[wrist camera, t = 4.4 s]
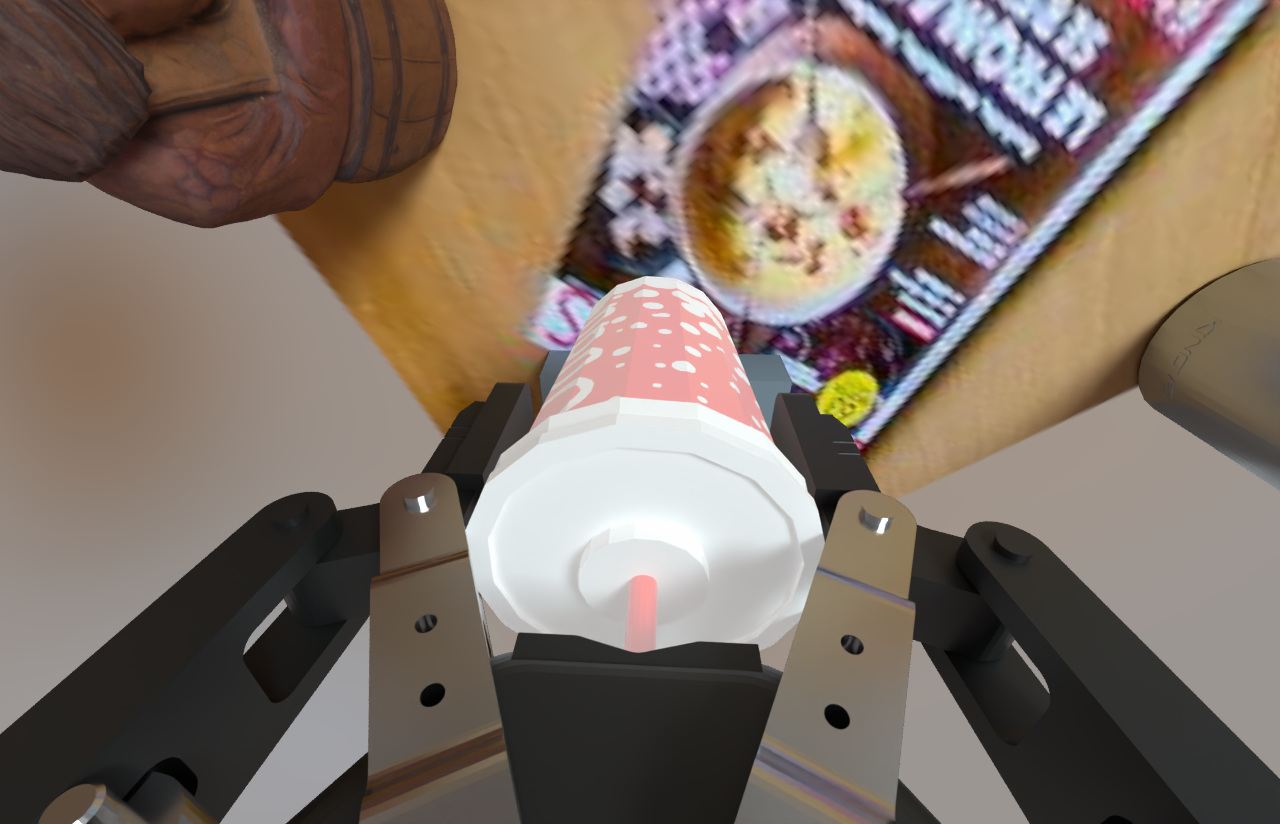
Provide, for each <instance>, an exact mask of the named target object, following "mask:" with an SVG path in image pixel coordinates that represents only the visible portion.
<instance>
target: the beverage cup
mask: <svg viewBox="0 0 1280 824" xmlns="http://www.w3.org/2000/svg"><path fill="white" fill-rule="evenodd" d="M466 535H467V539H468V544H469V550H470V555H471V560H472V565H473V570H474V575H475V579H476V584H477V588H478V591H479V593H480V594H481V595H482V597H483V598H484V599H485V601H486V602H487V603H488V605H489V606H490V607H491V608H492V610H493V611H494V613H495V614H496V615H497V617H498V618H499V619H500V620H501V622H502V623H503V624H504V625H506V626H507V627H509V628H510V629H512V630H513V631H515V632H517V633H518V632H523V633H543V634H563V635H578V636H581V637H584V638H588V639H591V640H594V641H598V642H601V643H604V644H607V645H611V646H614V647H617V648H621V649H624V650H627V651H631V652H637V653H640V652H646V651H651V650H657V649H662V648H667V647H672V646H677V645H682V644H687V643H692V642H697V641H705V642H725V643H745V644H758V646H759V651H761V650H763V649H765V648H768V647H770V646H772V645H773V644H775V643H776V642H777V641H778V640H779V639H780V638H781V637H783V636H784V635H785V633H787V632H788V631H789V630H790V629H791V628H792V627H793V626H795V625H796V623H798V622H799V621H800V618H801V615H802V612H803V609H804V606H805V603H806V599H807V596H808V593H809V590H810V587H811V584H812V581H813V577H814V574H815V571H816V568H817V565H818V564H819V561H820V558H821V554H822V551H823V548H824V545H825V541H824V536H823V531H822V526H821V522H820V517H819V512H818V509H817V506H816V503H815V501H814V499H813V497H812V496H811V495H810V494H809V493H808V491H807V486H806V482H805V478H804V477H803V476H802V475H801V474H800V473H799V472H798V470H797V469H796V468H795V467H794V466H793V465H792V464H791V463H790V462H789V460H788V459H787V458H786V457H785V456H784V455H783V454H782V453H781V452H780V450H779V449H778V448H777V447H776V446H775V444H774V442H773V439H772V437H771V434H770V432H769V429H768V427H767V425H766V422H765V420H764V417H763V415H762V412H761V410H760V407H759V405H758V403H757V400H756V398H755V395H754V393H753V390H752V388H751V386H750V383H749V381H748V378H747V376H746V373H745V371H744V368H743V366H742V364H741V361H740V359H739V356H738V354H737V351H736V349H735V346H734V344H733V342H732V339H731V337H730V334H729V332H728V329H727V327H726V325H725V322H724V320H723V317H722V315H721V313H720V312H719V311H718V310H717V308H716V307H715V306H714V305H713V303H712V302H711V301H710V300H709V299H708V297H707V296H706V295H705V294H704V293H703V292H702V291H700V290H698V289H696V288H694V287H692V286H690V285H688V284H686V283H684V282H682V281H680V280H678V279H675V278H662V277H649V276H645V277H642V278H639V279H636V280H633V281H629V282H626V283H623V284H620V285H617V286H616V287H615V288H614V289H612V290H611V291H610V292H609V293H608V294H607V295H606V296H604V297H603V298H602V299H601V300H600V301H599V302H597V303H596V304H595V306H594V308H593V310H592V312H591V314H590V316H589V318H588V320H587V322H586V323H585V325H584V327H583V329H582V331H581V333H580V335H579V337H578V339H577V341H576V343H575V345H574V347H573V348H572V350H571V352H570V354H569V356H568V358H567V360H566V362H565V364H564V366H563V368H562V370H561V372H560V373H559V375H558V377H557V379H556V381H555V383H554V385H553V387H552V389H551V391H550V393H549V395H548V397H547V398H546V400H545V402H544V404H543V406H542V408H541V410H540V412H539V414H538V416H537V418H536V420H535V422H534V423H533V425H532V427H531V429H530V431H529V433H528V434H526V435H525V436H524V437H523V438H521V439H520V440H519V441H517V442H516V443H515V444H514V445H512V446H511V447H510V448H509V449H507V450H506V451H505V452H503V453H502V454H501V455H500V458H499V460H498V462H497V465H496V467H495V469H494V471H493V472H491V473H490V475H489V477H488V479H487V482H486V484H485V486H484V488H483V491H482V493H481V495H480V498H479V500H478V502H477V505H476V507H475V509H474V512H473V514H472V516H471V519H470V521H469V523H468V526H467V528H466Z"/></svg>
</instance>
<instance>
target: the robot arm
mask: <svg viewBox="0 0 1280 824" xmlns="http://www.w3.org/2000/svg"><path fill="white" fill-rule="evenodd" d="M1138 376H1139V388H1140V390H1141V393H1142V395H1143V397H1144V400H1145V401H1146V402H1147V403H1148V404H1150V406H1152V407H1153V408H1154V409H1155V410H1157V411H1158V412H1160V413H1161V414H1163V415H1164V416H1166V417H1167V418H1169V419H1171V420H1172V421H1174V422H1175V423H1177V424H1178V425H1180V426H1181V427H1183V428H1185V429H1186V430H1188V431H1189V432H1191V433H1192V434H1194V435H1195V436H1197V437H1198V438H1200V439H1201V440H1203V441H1204V442H1206V443H1208V444H1209V445H1211V446H1212V447H1214V448H1215V449H1216V450H1218V451H1219V452H1221V453H1222V454H1224V455H1225V456H1227V457H1229V458H1230V459H1232V460H1233V461H1235V462H1236V463H1238V464H1240V465H1241V466H1242V467H1244V468H1245V469H1247V470H1249V471H1250V472H1252V473H1253V474H1255V475H1256V476H1258V477H1259V478H1261V479H1263V480H1264V481H1266V482H1267V483H1269V484H1270V485H1272V486H1273V487H1275V488H1276V489H1278V490H1279V491H1280V258H1275V259H1269V260H1265V261H1262V262H1259V263H1256V264H1253V265H1250V266H1247V267H1243V268H1241V269H1239V270H1237V271H1235V272H1233V273H1231V274H1229V275H1226V276H1224V277H1222V278H1220V279H1218V280H1217V281H1215V282H1214V283H1212V284H1210V285H1209V286H1207V287H1206V288H1204V289H1202V290H1201V291H1199V292H1198V293H1196V294H1195V295H1194V296H1193V297H1191V298H1190V299H1189V300H1188V301H1187V302H1185V303H1184V304H1183V305H1182V306H1180V307H1179V308H1178V309H1177V310H1176V311H1175V312H1174V313H1173V314H1172V315H1171V316H1170V317H1169V318H1168V319H1167V320H1166V321H1165V323H1164V324H1163V325H1162V326H1161V327H1160V329H1159V330H1158V331H1157V333H1156V334H1155V336H1154V337H1153V338H1152V340H1151V341H1150V343H1149V345H1148V347H1147V349H1146V351H1145V353H1144V355H1143V358H1142V360H1141V365H1140V369H1139V374H1138ZM533 423H534V413H533V405H532V396H531V389H530V386H529V384H527V383H502V382H498V383H496V385H495V386H494V388H493V390H492V392H491V393H490V395H489V397H488V399H487V400H486V402H480V401H475V402H474V403H472V404H471V405H469V406H468V407H467V408H465V409H464V410H462V411H461V412H460V413H459V414H458V416H457V417H456V419H455V420H454V422H453V424H452V425H451V428H449V430H448V432H447V433H446V435H445V438H444V439H442V441H441V443H440V444H439V446H438V448H437V449H436V451H435V452H434V454H433V455H432V457H431V459H430V460H429V462H428V463H427V465H426V466H425V468H424V469H423V471H422V473H421V474H416V475H412V476H409V477H406V478H404V479H402V480H400V481H398V482H396V483H395V484H393V485H392V486H391V487H390V488H388V489H387V491H386V492H385V493H384V495H383V496H382V498H381V500H380V503H377V504H373V505H367V506H362V507H356V508H350V509H345V510H339V511H337V509H336V507H335V504H334V502H333V500H332V499H331V498H330V497H329V496H328V495H326V494H323V493H319V492H303V493H297V494H293V495H289V496H286V497H283V498H281V499H279V500H276V501H274V502H273V503H271V504H269V505H267V506H266V507H264V508H263V509H261V510H260V511H259V512H258V513H257V514H255V515H254V516H253V517H252V518H251V519H250V520H248V521H247V522H246V523H245V524H244V525H243V526H242V527H240V528H239V529H238V530H237V531H236V532H234V533H233V534H232V535H231V536H230V537H229V538H228V539H226V540H225V541H224V542H223V543H222V544H220V545H219V546H218V547H217V548H216V549H215V550H214V551H213V552H211V553H210V554H209V555H208V556H207V557H205V559H203V560H202V561H201V562H200V563H199V564H197V565H196V566H195V567H194V568H193V569H192V570H190V571H189V572H188V573H187V574H186V575H185V576H183V577H182V578H181V579H180V580H179V581H178V582H177V583H175V584H174V585H173V586H172V587H171V588H169V589H168V590H167V591H166V592H165V593H164V594H162V595H161V596H160V597H159V598H158V599H157V600H156V601H154V602H153V603H152V604H151V605H150V606H149V607H148V608H146V609H145V610H144V611H143V612H142V613H140V614H139V615H138V616H137V617H136V618H135V619H134V620H132V621H131V622H130V623H129V624H128V625H127V626H125V627H124V628H123V629H122V630H121V631H120V632H118V633H117V634H116V635H115V636H114V637H113V638H111V639H110V640H109V641H108V642H107V643H106V644H104V645H103V646H102V647H101V648H100V649H99V650H98V651H96V652H95V653H94V654H93V655H92V656H91V657H89V658H88V659H87V660H86V661H85V662H84V663H82V664H81V665H80V666H79V667H78V668H77V669H76V670H74V671H73V672H72V673H71V674H70V675H69V676H67V677H66V678H65V679H64V680H63V681H62V682H60V683H59V684H58V685H57V686H56V687H55V688H53V689H52V690H51V691H50V692H49V693H48V694H47V695H45V696H44V697H43V698H42V699H41V700H40V701H38V702H37V703H36V704H35V705H34V706H33V707H31V708H30V709H29V710H28V711H27V712H26V713H24V714H23V715H22V716H21V717H20V718H19V719H17V720H16V721H15V722H14V723H13V724H12V725H11V726H9V727H8V728H7V729H6V730H5V731H4V732H2V733H1V734H0V824H219V823H220V822H221V821H222V819H223V818H224V816H225V815H226V814H227V812H228V811H229V810H230V808H231V807H232V805H233V804H234V803H235V801H236V800H237V798H238V797H239V796H240V794H241V793H242V792H243V790H244V789H245V787H246V786H247V785H248V783H249V782H250V780H251V779H252V778H253V776H254V775H255V774H256V772H257V771H258V769H259V768H260V767H261V765H262V764H263V762H264V761H265V760H266V758H267V757H268V756H269V754H270V753H271V751H272V750H273V749H274V747H275V746H276V744H277V743H278V742H279V740H280V739H281V738H282V736H283V735H284V733H285V732H286V731H287V729H288V728H289V727H290V725H291V724H292V722H293V721H294V719H295V718H296V717H297V715H298V714H299V713H300V711H301V710H302V708H303V707H304V706H305V704H306V703H307V702H308V700H309V699H310V697H311V696H312V695H313V693H314V692H315V691H316V689H317V688H318V686H319V685H320V684H321V682H322V681H323V680H324V678H325V677H326V675H327V674H328V673H329V671H330V670H331V668H332V667H333V665H334V664H335V663H336V662H337V660H338V658H339V657H340V656H341V655H342V653H343V652H344V650H345V649H346V648H347V646H348V645H349V643H350V642H351V641H352V639H353V638H354V637H355V635H356V634H357V632H358V631H359V630H360V628H361V627H362V625H363V624H364V623H365V621H366V620H367V619H368V617H369V615H370V651H369V654H370V655H369V658H370V659H369V739H368V744H369V745H368V752H367V753H366V754H365V755H364V756H363V757H362V758H360V759H359V760H358V761H357V762H356V763H355V764H354V765H352V766H351V767H350V768H349V769H348V770H347V771H346V772H344V773H343V774H342V775H341V776H340V777H339V778H338V779H337V780H335V781H334V782H333V783H332V784H331V785H330V786H328V787H327V788H326V789H325V790H324V791H323V792H322V793H320V794H319V795H318V796H317V797H316V798H315V799H314V800H312V801H311V802H310V803H309V804H308V805H307V806H306V807H304V808H303V809H302V810H301V811H300V812H299V813H298V814H297V815H295V816H294V817H293V818H292V819H291V820H290V821H289V822H287V823H286V824H941V823H940V822H939V821H938V820H937V819H936V818H935V817H934V816H933V814H932V813H931V812H930V811H929V810H928V809H927V808H926V807H925V806H924V805H923V804H922V803H921V802H920V801H919V800H918V799H917V798H916V796H914V794H913V793H912V792H911V791H910V790H909V789H908V788H907V787H906V786H905V785H904V784H903V783H902V782H901V781H900V780H899V778H898V775H899V765H900V756H901V746H902V737H903V727H904V717H905V708H906V698H907V688H908V678H909V669H910V659H911V649H912V640H916V641H919V642H921V643H922V645H923V647H924V649H925V650H926V652H927V654H928V656H929V657H930V659H931V661H932V662H933V664H934V665H935V667H936V669H937V671H938V672H939V674H940V676H941V677H942V678H943V680H944V682H945V684H946V685H947V687H948V689H949V690H950V692H951V693H952V695H953V697H954V699H955V700H956V702H957V704H958V705H959V707H960V709H961V710H962V712H963V714H964V715H965V717H966V719H967V720H968V722H969V724H970V725H971V727H972V729H973V730H974V732H975V734H976V735H977V737H978V739H979V740H980V742H981V743H982V745H983V747H984V748H985V750H986V752H987V753H988V755H989V757H990V758H991V760H992V762H993V763H994V765H995V767H996V768H997V770H998V772H999V773H1000V775H1001V777H1002V778H1003V780H1004V782H1005V783H1006V785H1007V787H1008V788H1009V790H1010V791H1011V793H1012V795H1013V797H1014V798H1015V800H1016V801H1017V803H1018V805H1019V806H1020V808H1021V810H1022V811H1023V813H1024V815H1025V816H1026V818H1027V820H1028V821H1029V823H1030V824H1280V779H1279V778H1278V777H1277V776H1276V775H1275V774H1274V773H1273V772H1272V771H1271V770H1270V769H1269V768H1268V767H1267V766H1266V765H1265V764H1264V763H1263V762H1262V761H1261V760H1260V759H1259V758H1258V757H1257V756H1256V755H1255V754H1254V753H1253V752H1252V751H1251V750H1250V749H1249V748H1248V747H1247V746H1246V745H1245V744H1244V743H1243V742H1242V741H1241V740H1240V739H1239V738H1238V737H1237V736H1236V735H1235V734H1234V733H1233V732H1232V731H1231V730H1230V729H1229V728H1228V727H1227V726H1226V725H1225V724H1224V723H1223V722H1222V721H1221V720H1220V719H1219V718H1218V717H1217V716H1216V715H1215V714H1214V713H1213V712H1212V711H1211V710H1210V709H1209V708H1208V707H1207V706H1206V705H1205V704H1204V703H1203V702H1202V701H1201V700H1200V699H1199V698H1198V697H1197V696H1196V695H1195V694H1194V693H1193V692H1192V691H1191V690H1190V689H1189V688H1188V687H1187V686H1186V685H1185V684H1184V683H1183V682H1182V681H1181V680H1180V679H1179V678H1178V677H1177V676H1176V675H1175V674H1174V673H1173V672H1172V671H1171V670H1170V669H1169V668H1168V667H1167V666H1166V665H1165V664H1164V663H1163V662H1162V661H1161V660H1160V659H1159V658H1158V657H1157V656H1156V655H1155V654H1154V653H1153V652H1152V651H1151V650H1150V649H1149V648H1148V647H1147V646H1146V645H1145V644H1144V643H1143V642H1142V641H1141V640H1140V639H1139V638H1138V637H1137V636H1136V635H1135V634H1134V633H1133V632H1132V631H1131V630H1130V629H1129V628H1128V627H1127V626H1126V625H1125V624H1124V623H1123V622H1122V621H1121V620H1120V619H1119V618H1118V617H1117V616H1116V615H1115V614H1114V613H1113V612H1112V611H1111V610H1110V609H1109V608H1108V607H1107V606H1106V605H1105V604H1104V603H1103V602H1102V601H1101V600H1100V599H1099V598H1098V597H1097V596H1096V595H1095V594H1094V593H1093V592H1092V591H1091V590H1090V589H1089V588H1088V587H1087V586H1086V585H1085V584H1084V583H1083V582H1082V581H1081V580H1080V579H1079V578H1078V577H1077V576H1076V575H1075V574H1074V573H1073V572H1072V571H1071V570H1070V569H1069V568H1068V567H1067V566H1066V565H1065V564H1064V563H1063V562H1062V561H1061V560H1060V559H1059V558H1058V557H1057V556H1056V555H1055V554H1054V553H1053V552H1052V551H1051V550H1050V549H1049V548H1048V547H1047V546H1046V545H1045V544H1044V543H1043V542H1041V541H1040V540H1039V539H1037V538H1036V537H1034V536H1033V535H1031V534H1029V533H1027V532H1025V531H1023V530H1021V529H1019V528H1016V527H1014V526H1011V525H1008V524H1004V523H999V522H986V521H985V522H979V523H976V524H973V525H972V526H971V527H970V528H969V529H968V530H967V532H966V534H965V536H964V538H961V537H958V536H954V535H950V534H946V533H942V532H939V531H935V530H931V529H928V528H924V527H922V526H919V525H917V524H916V520H915V518H914V516H913V514H912V513H911V512H910V510H909V509H908V508H906V506H905V505H903V504H902V503H901V502H899V501H898V500H896V499H894V498H892V497H890V496H888V495H885V494H883V493H881V491H880V490H879V488H878V486H877V484H876V482H875V480H874V478H873V476H872V474H871V472H870V470H869V468H868V467H867V465H866V463H865V461H864V459H863V457H862V456H860V451H859V449H858V447H857V445H856V444H854V440H853V438H852V436H851V434H850V432H849V430H848V428H847V427H846V426H845V425H844V424H842V423H841V422H840V421H839V420H838V419H836V418H835V417H834V416H833V415H827V414H820V413H819V411H818V408H817V406H816V404H815V402H814V400H813V398H812V396H811V394H804V393H778V394H777V396H776V399H775V404H774V410H773V415H772V421H771V426H770V434H771V437H772V439H773V442H774V444H775V446H776V447H777V448H778V449H779V450H780V452H781V453H782V454H783V455H784V456H785V457H786V458H787V459H788V460H789V462H790V463H791V464H792V465H793V466H794V467H795V468H796V469H797V470H798V472H799V473H800V474H801V475H802V476H803V477H804V478H805V482H806V486H807V491H808V493H809V494H810V495H811V496H812V497H813V499H814V501H815V503H816V506H817V509H818V512H819V517H820V522H821V526H822V531H823V536H824V541H825V545H824V548H823V551H822V554H821V558H820V561H819V564H818V565H817V568H816V571H815V574H814V577H813V581H812V584H811V587H810V590H809V593H808V596H807V599H806V603H805V606H804V609H803V612H802V615H801V618H800V621H799V625H798V628H797V631H796V634H795V637H794V640H793V643H792V646H791V650H790V653H789V656H788V659H787V662H786V665H785V668H784V672H781V671H779V670H776V669H774V668H772V667H769V666H766V665H763V664H761V660H760V659H761V658H760V652H759V646H758V644H745V643H725V642H705V641H697V642H692V643H687V644H682V645H677V646H672V647H667V648H662V649H657V650H651V651H646V652H640V653H637V652H631V651H627V650H624V649H621V648H617V647H614V646H611V645H607V644H604V643H601V642H598V641H594V640H591V639H588V638H584V637H581V636H578V635H563V634H543V633H523V632H518V636H517V640H516V644H515V647H514V651H513V652H510V653H505V654H502V655H498V656H495V657H494V656H493V651H492V646H491V641H490V636H489V632H488V626H487V622H486V617H485V612H484V607H483V602H482V597H481V594H480V593H479V591H478V588H477V584H476V579H475V575H474V570H473V565H472V560H471V555H470V550H469V544H468V539H467V535H466V528H467V526H468V523H469V521H470V519H471V516H472V514H473V512H474V509H475V507H476V505H477V502H478V500H479V498H480V495H481V493H482V491H483V488H484V486H485V484H486V482H487V479H488V477H489V475H490V473H491V472H493V471H494V469H495V467H496V465H497V462H498V460H499V458H500V455H501V454H502V453H503V452H505V451H506V450H507V449H509V448H510V447H511V446H512V445H514V444H515V443H516V442H517V441H519V440H520V439H521V438H523V437H524V436H525V435H526V434H528V433H529V431H530V429H531V427H532V425H533ZM283 599H284V600H285V602H286V604H287V607H286V608H285V609H284V611H283V612H282V613H281V614H280V615H279V616H278V617H277V618H276V620H275V621H274V622H273V623H272V624H271V625H270V626H269V627H268V628H267V630H266V631H265V632H264V633H263V634H262V635H261V636H260V637H259V638H258V640H257V641H256V642H255V643H254V644H253V645H252V646H251V647H250V649H249V650H248V651H247V652H246V653H245V654H244V655H243V653H244V648H245V645H246V643H247V641H248V639H249V637H250V636H251V634H252V633H253V631H254V630H255V629H256V628H257V627H258V626H259V625H260V624H261V623H262V621H263V620H264V619H265V618H266V617H267V616H268V615H269V614H270V613H271V612H272V611H273V609H274V608H275V607H276V606H277V605H278V604H279V603H280V602H281V601H282V600H283ZM1014 640H1016V641H1017V642H1018V644H1019V645H1020V646H1021V648H1022V649H1023V650H1024V652H1025V653H1026V654H1027V656H1028V657H1029V658H1030V659H1031V661H1032V662H1033V663H1034V665H1035V666H1036V667H1037V668H1038V670H1039V671H1040V672H1041V674H1042V675H1043V677H1044V679H1045V681H1046V683H1047V685H1048V688H1049V692H1050V694H1049V693H1048V692H1047V690H1046V689H1045V688H1044V686H1043V685H1042V684H1041V682H1040V681H1039V680H1038V679H1037V677H1036V676H1035V675H1034V673H1033V672H1032V671H1031V669H1030V668H1029V667H1028V665H1027V664H1026V663H1025V661H1024V660H1023V659H1022V657H1021V656H1020V655H1019V654H1018V652H1017V651H1016V650H1015V648H1014V647H1013V646H1012V643H1013V641H1014Z"/></svg>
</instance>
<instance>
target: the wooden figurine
mask: <svg viewBox="0 0 1280 824" xmlns="http://www.w3.org/2000/svg"><path fill="white" fill-rule="evenodd" d="M456 87H457V65H456V48H455V39H454V34H453V29H452V25H451V21H450V17H449V13H448V10H447V7H446V4H445V1H444V0H0V170H2V171H6V172H12V173H19V174H25V175H28V176H32V177H36V178H43V179H52V180H57V181H67V182H83V181H87V182H88V183H90V184H92V185H93V186H95V187H96V188H98V189H100V190H102V191H103V192H105V193H107V194H109V195H111V196H113V197H116V198H118V199H120V200H123V201H125V202H128V203H130V204H132V205H134V206H136V207H138V208H141V209H143V210H146V211H148V212H151V213H154V214H157V215H159V216H162V217H165V218H168V219H171V220H173V221H177V222H180V223H184V224H188V225H192V226H195V227H200V228H216V227H220V226H223V225H228V224H232V223H238V222H244V221H249V220H253V219H257V218H261V217H265V216H268V215H271V214H275V213H279V212H285V211H299V210H302V209H304V208H306V207H308V206H310V205H311V204H313V203H314V202H315V201H316V200H318V199H319V198H320V197H321V196H322V195H323V193H324V192H325V191H326V190H327V189H328V188H329V187H330V186H331V184H332V183H333V181H334V182H343V183H363V182H371V181H374V180H380V179H384V178H387V177H390V176H392V175H395V174H397V173H399V172H401V171H403V170H405V169H407V168H408V167H410V166H412V165H413V164H415V163H416V162H417V161H419V160H420V159H421V158H423V157H424V156H426V155H427V154H428V153H429V152H430V151H431V150H432V149H433V148H434V147H435V146H436V145H437V144H438V143H439V142H440V141H441V140H442V139H443V137H444V135H445V133H446V131H447V128H448V125H449V121H450V118H451V113H452V108H453V103H454V98H455V92H456Z"/></svg>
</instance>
